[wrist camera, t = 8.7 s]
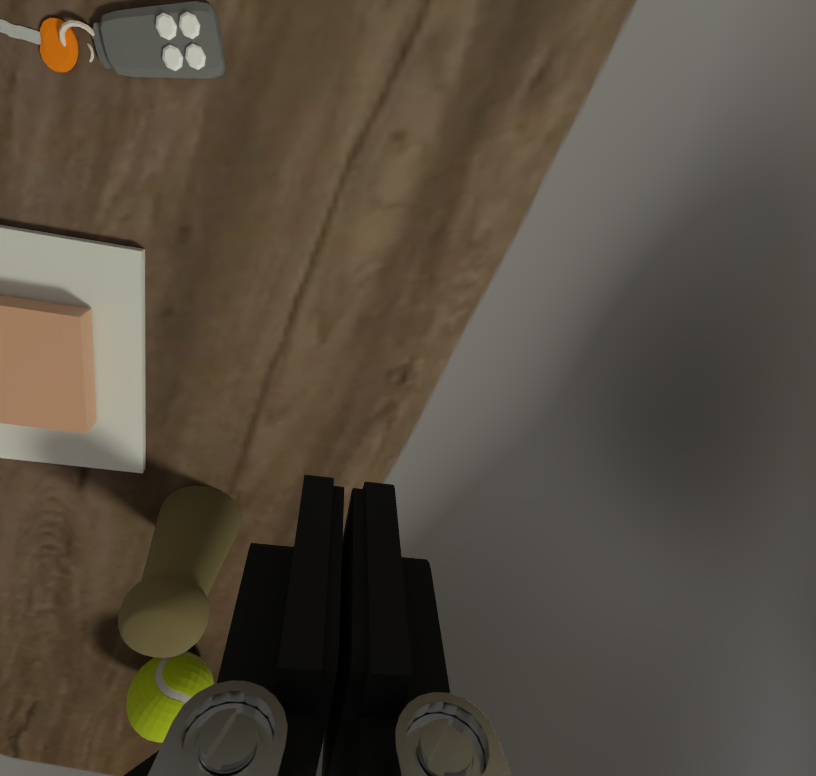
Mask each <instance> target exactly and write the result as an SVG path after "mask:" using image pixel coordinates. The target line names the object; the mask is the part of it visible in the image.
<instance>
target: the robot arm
mask: <svg viewBox="0 0 816 776" xmlns="http://www.w3.org/2000/svg"><path fill="white" fill-rule="evenodd" d="M333 483H334V479H333V478H329V477H320V476H312V475H304V482H303V489H302V496H301V503H300V510H299V517H298V524H297V531H296V538H295V545H294V547H288V546H277V545H267V544H256V543H251V545H250V548H249V551H248V555H247V560H246V564H245V568H244V572H243V576H242V580H241V585H240V589H239V593H238V597H237V601H236V606H235V610H234V614H233V618H232V622H231V626H230V631H229V635H228V639H227V643H226V647H225V651H224V656H223V660H222V664H221V668H220V672H219V676H218V681H217V684H213V685H211V686H209V687H207V688H205V689H203V690H201V691H199V692H198V693H196V694H195V695H194V696H193V697H192V698H191V699H190V700H188V701H187V702H186V703H185V704H184V705H183V706H182V708H181V709H180V711H179V712H178V714H177V715H176V717H175V719H174V720H173V722H172V724H171V726H170V728H169V730H168V733H167V735H166V737H165V739H164V741H163V743H162V746H161V748H160V750H159V751H157V752H156V753H155V754H153V755H152V756H150V757H149V758H148V759H146V760H145V761H144V762H142V763H141V764H139V765H138V766H137V767H135V768H134V769H132V770H131V771H130V772H128V773H127V774H125V775H124V776H316V771H317V766H318V762H319V757H320V752H321V747H322V743H323V738H324V743H323V761H322V776H511V773H510V770H509V767H508V764H507V762H506V759H505V756H504V754H503V750H502V748H501V745H500V742H499V739H498V737H497V735H496V733H495V731H494V729H493V727H492V725H491V723H490V721H489V720H488V719H487V717H486V716H485V715H484V714H483V713H482V712H481V711H480V710H479V709H478V708H477V707H476V706H474V705H473V704H472V703H470V702H469V701H467V700H466V699H464V698H462V697H459V696H456V695H453V694H451V693H450V689H449V683H448V676H447V670H446V664H445V658H444V651H443V644H442V639H441V632H440V626H439V619H438V612H437V606H436V599H435V593H434V587H433V581H432V574H431V568H430V564H429V562H428V561H427V560H425V559H415V558H404V557H401V549H400V539H399V529H398V518H397V509H396V508H397V507H396V497H395V488H394V485H390V484H382V483H373V482H365V483H364V486H363V489H357V488H353V489H352V493H351V498H350V503H349V509H348V514H347V519H346V524H345V530H344V535H343V508H344V487H339V486H333ZM342 538H343V540H342Z"/></svg>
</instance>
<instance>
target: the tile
mask: <svg viewBox="0 0 816 776" xmlns="http://www.w3.org/2000/svg"><path fill="white" fill-rule="evenodd" d="M96 421H97V416H96V394H95V372H94V351H93V329H92V308H86V307H79V306H73V305H66V304H60V303H53V302H46V301H40V300H33V299H26V298H20V297H13V296H6V295H0V423H4V424H12V425H20V426H29V427H37V428H46V429H54V430H63V431H71V432H80V433H87V432H88V431H89V430H90V429H91V427H92V426H93V425H94V424H95V422H96Z"/></svg>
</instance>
